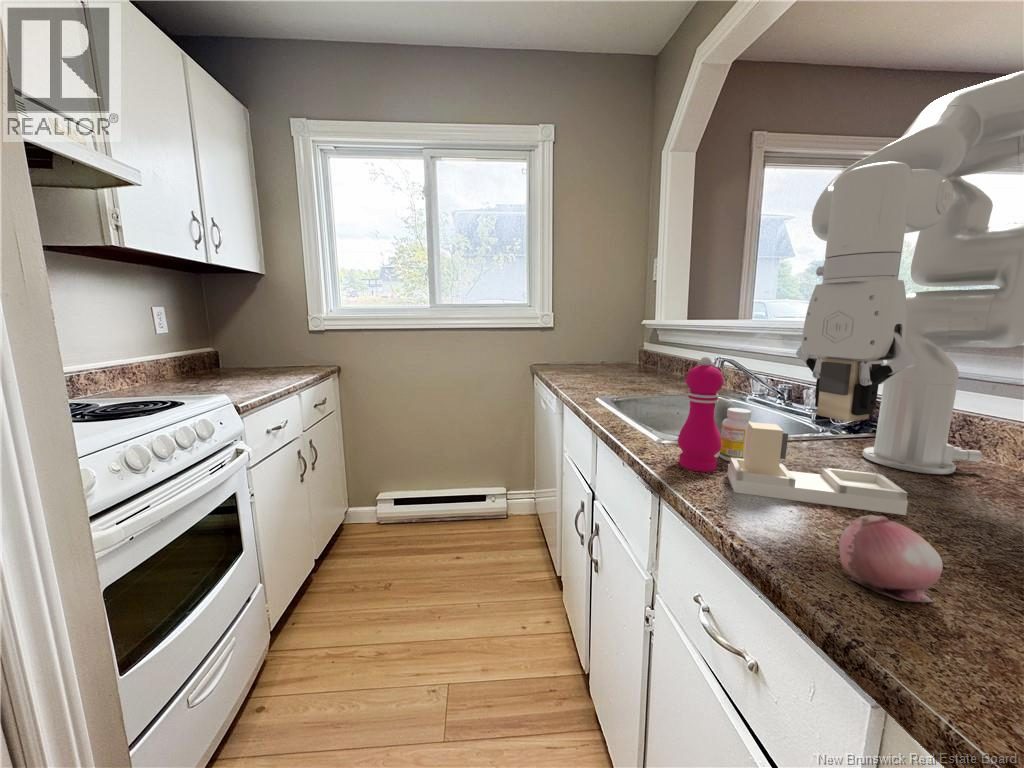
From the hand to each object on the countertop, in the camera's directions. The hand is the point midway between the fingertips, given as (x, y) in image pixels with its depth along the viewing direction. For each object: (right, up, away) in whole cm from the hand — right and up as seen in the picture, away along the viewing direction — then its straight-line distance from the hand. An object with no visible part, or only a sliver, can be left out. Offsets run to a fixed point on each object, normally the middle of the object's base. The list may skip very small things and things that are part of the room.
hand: (842, 408), depth 56 cm
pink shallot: (-8, -17, -15) cm, 24 cm away
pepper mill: (-11, -12, +19) cm, 25 cm away
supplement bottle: (-2, -11, +23) cm, 26 cm away
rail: (+1, -13, +8) cm, 16 cm away
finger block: (0, -1, 0) cm, 1 cm away
